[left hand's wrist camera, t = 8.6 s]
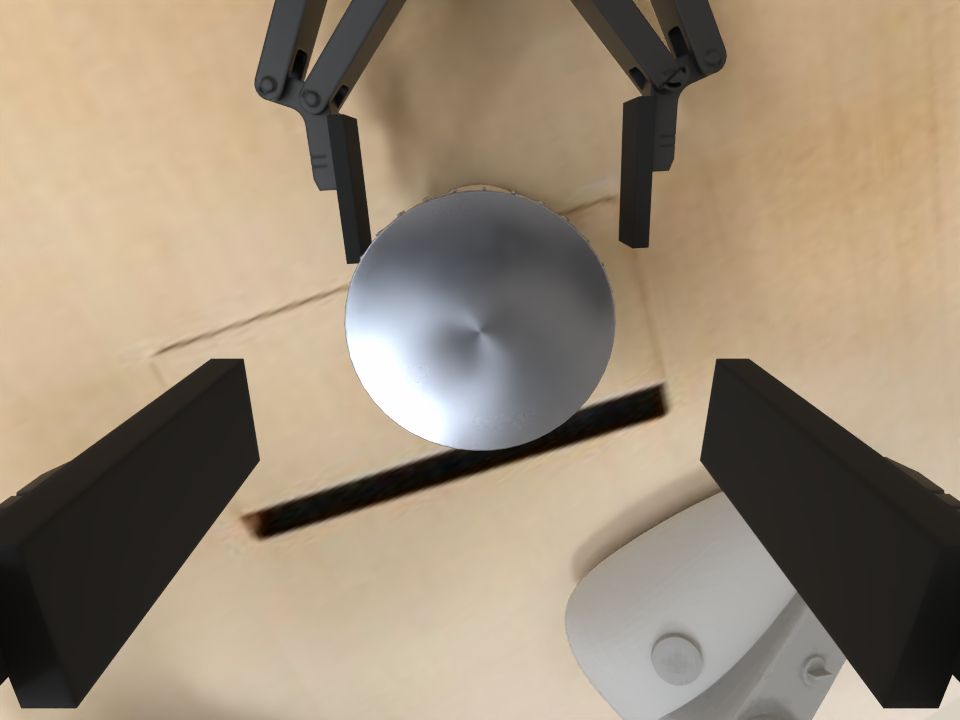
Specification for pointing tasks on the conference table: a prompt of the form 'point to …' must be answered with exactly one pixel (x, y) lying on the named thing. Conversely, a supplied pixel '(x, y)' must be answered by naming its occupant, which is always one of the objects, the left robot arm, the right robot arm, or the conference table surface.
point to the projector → (700, 626)
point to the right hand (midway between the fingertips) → (496, 252)
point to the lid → (480, 319)
